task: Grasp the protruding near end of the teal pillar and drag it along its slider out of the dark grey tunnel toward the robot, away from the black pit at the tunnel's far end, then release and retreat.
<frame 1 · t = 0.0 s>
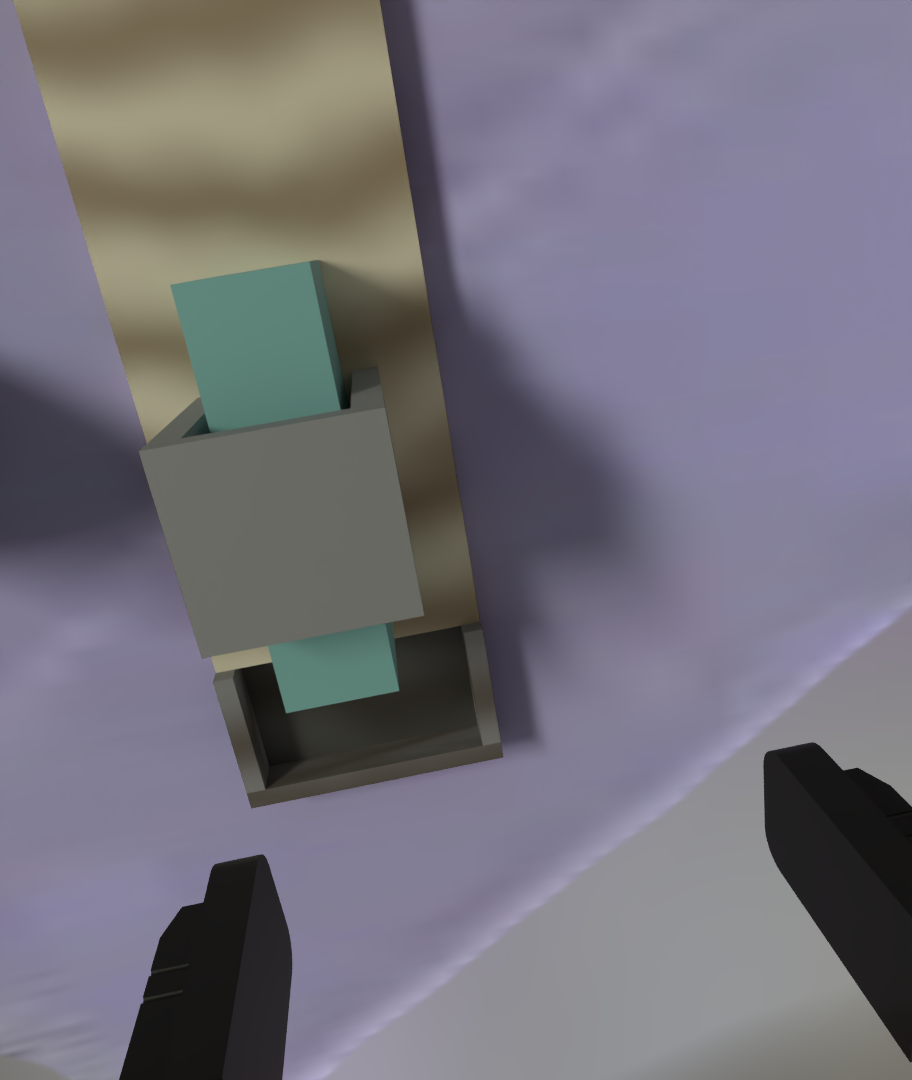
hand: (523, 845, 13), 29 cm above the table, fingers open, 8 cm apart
teal pillar: (302, 484, 35), point 5 cm above the table, slide at 0.0 cm
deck: (300, 417, 39), on the table
tunnel: (309, 457, 40), resting on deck
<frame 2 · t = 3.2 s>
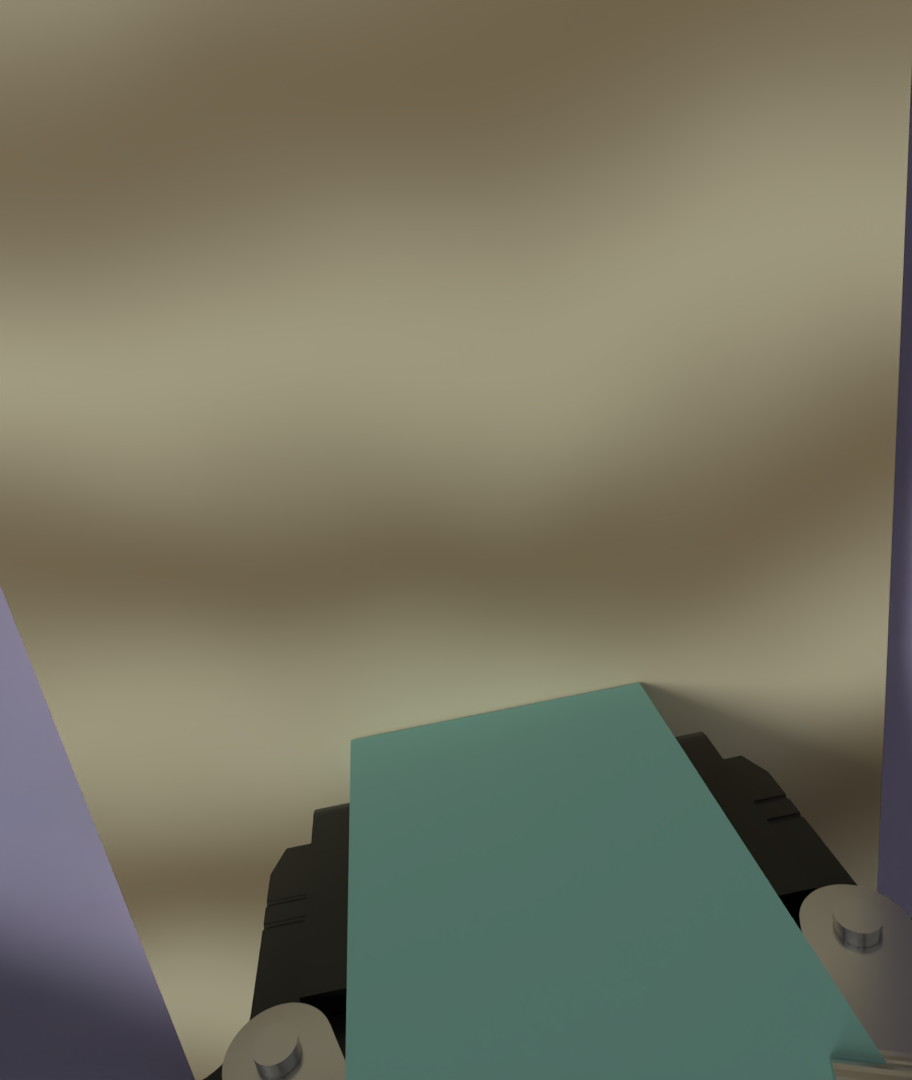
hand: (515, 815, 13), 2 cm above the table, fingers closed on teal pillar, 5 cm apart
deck: (528, 944, 17), on the table
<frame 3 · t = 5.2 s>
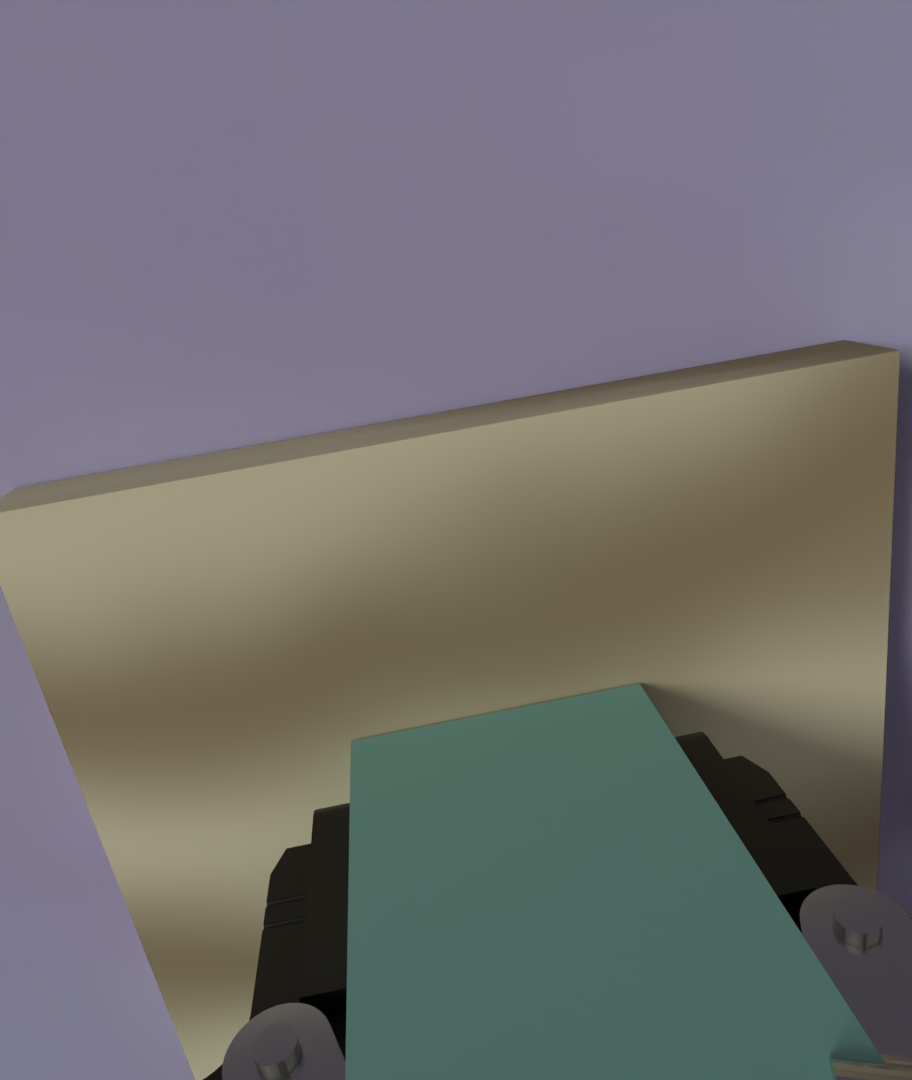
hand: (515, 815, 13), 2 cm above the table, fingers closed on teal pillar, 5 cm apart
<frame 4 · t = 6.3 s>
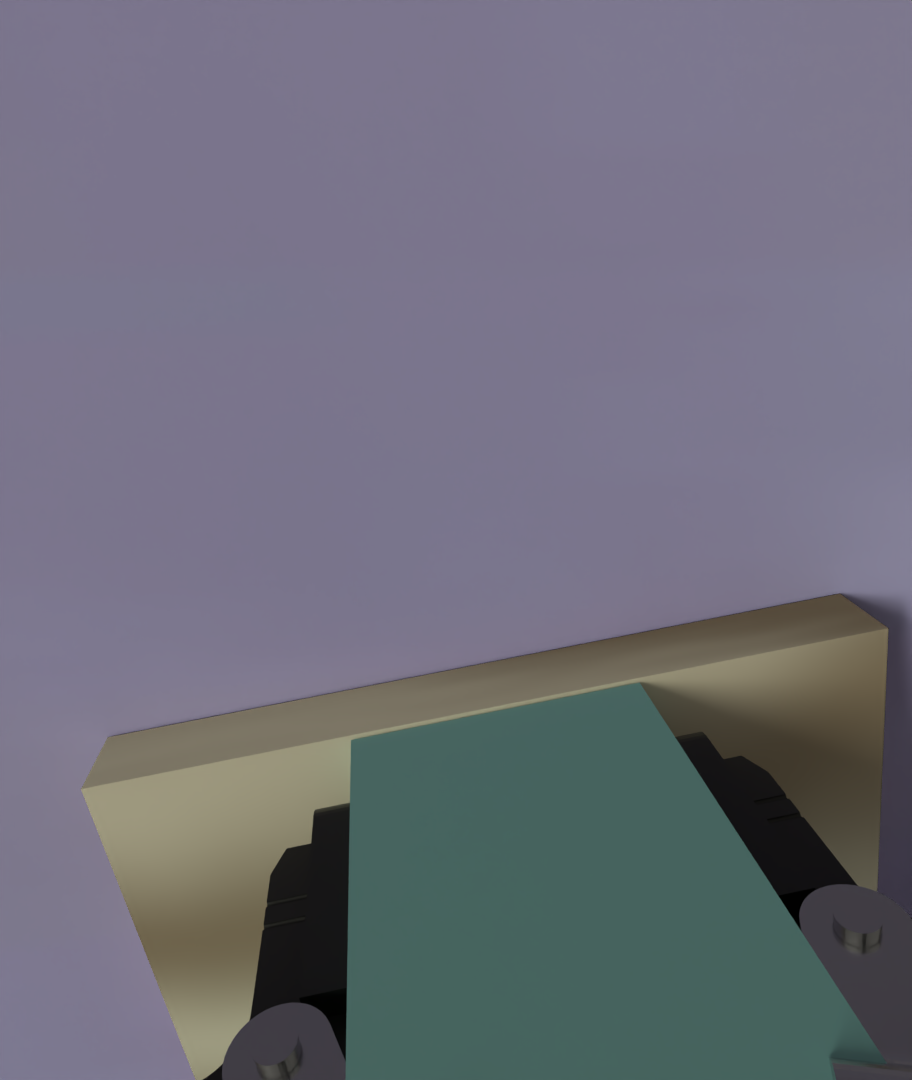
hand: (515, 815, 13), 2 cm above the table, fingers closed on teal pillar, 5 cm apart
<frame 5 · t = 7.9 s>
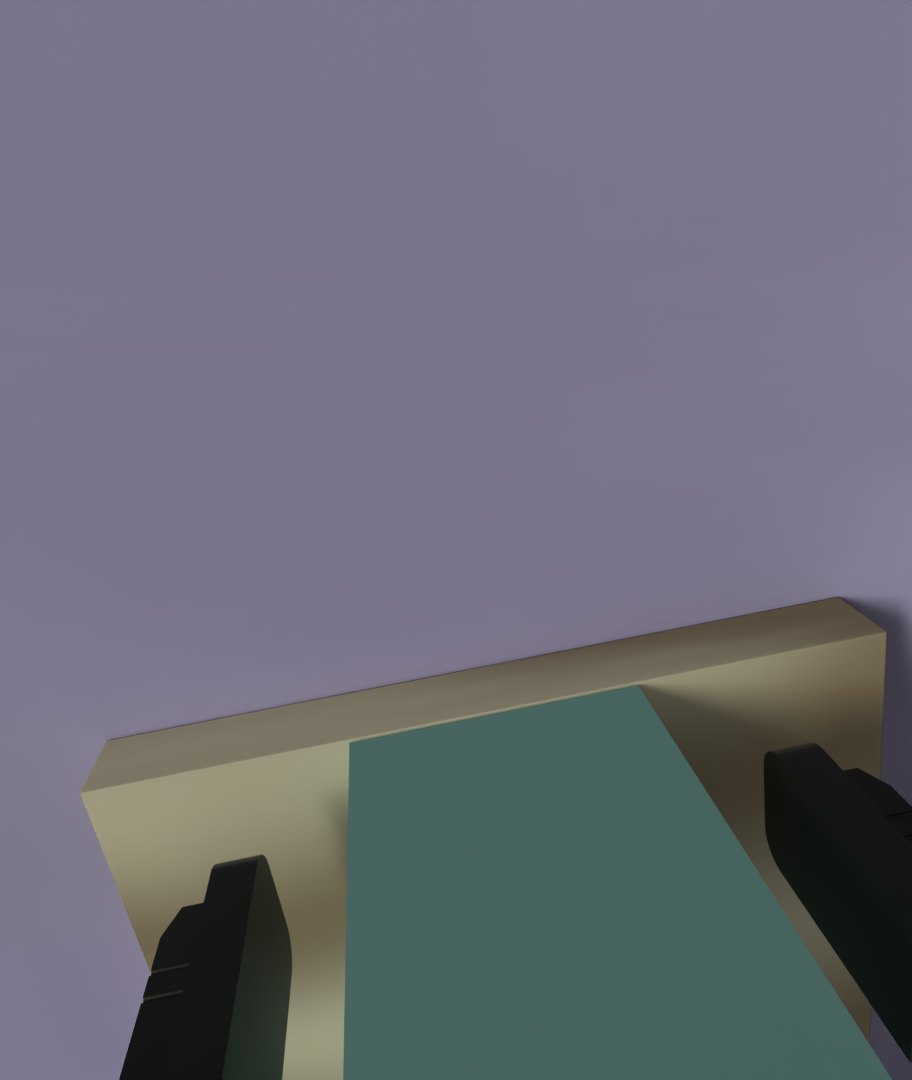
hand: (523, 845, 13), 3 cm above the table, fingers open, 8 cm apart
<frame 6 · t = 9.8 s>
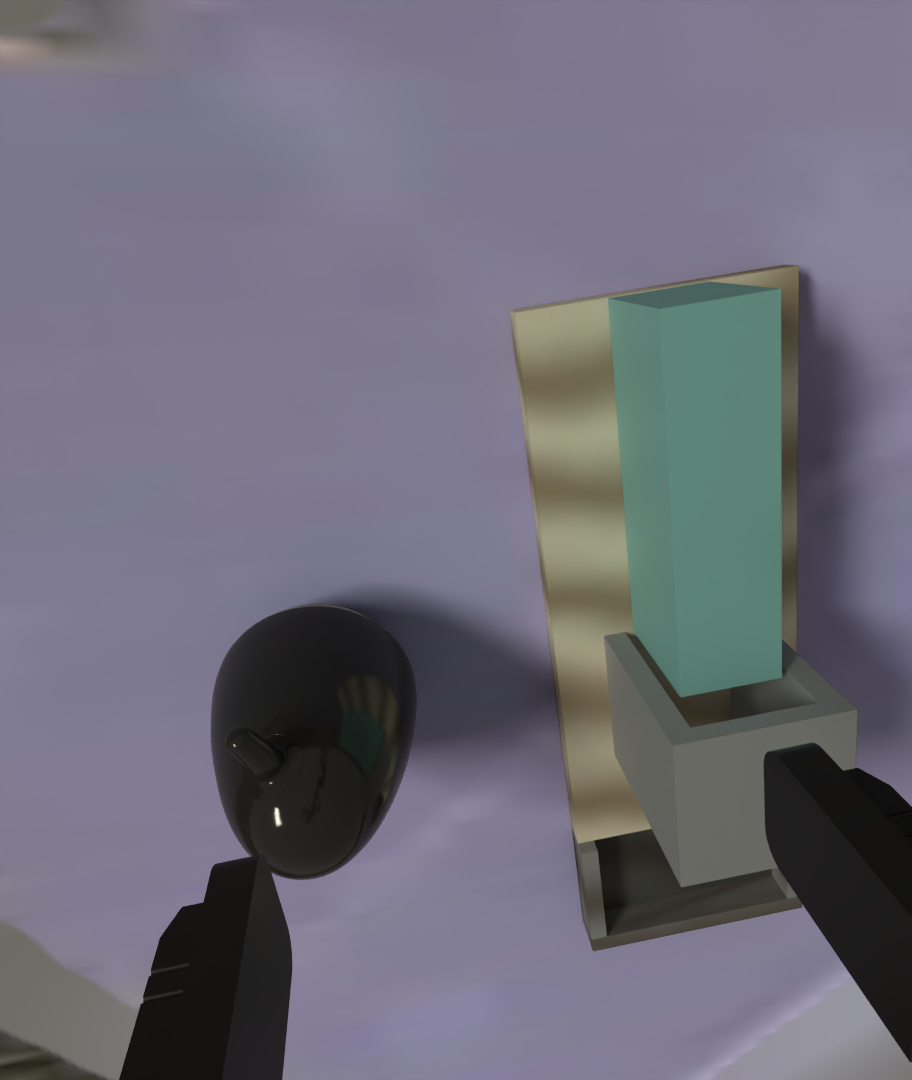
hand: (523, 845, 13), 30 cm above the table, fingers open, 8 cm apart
teal pillar: (695, 488, 38), point 5 cm above the table, slide at 13.0 cm
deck: (668, 641, 47), on the table
tunnel: (670, 670, 47), resting on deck
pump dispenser: (319, 657, 45), on the table
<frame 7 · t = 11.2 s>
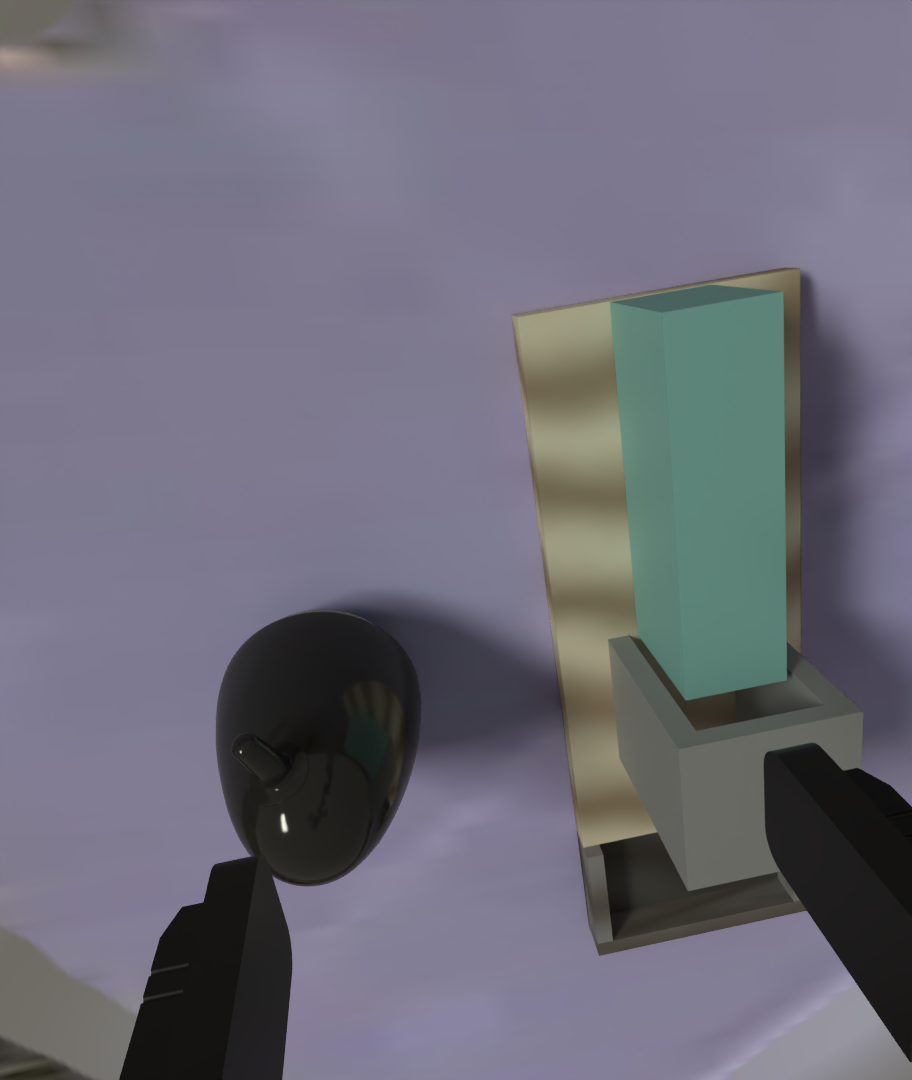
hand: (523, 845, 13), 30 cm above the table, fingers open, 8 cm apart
teal pillar: (698, 491, 38), point 5 cm above the table, slide at 13.0 cm
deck: (672, 644, 47), on the table
tunnel: (674, 673, 47), resting on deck
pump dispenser: (323, 663, 45), on the table
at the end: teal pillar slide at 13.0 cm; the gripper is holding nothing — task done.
